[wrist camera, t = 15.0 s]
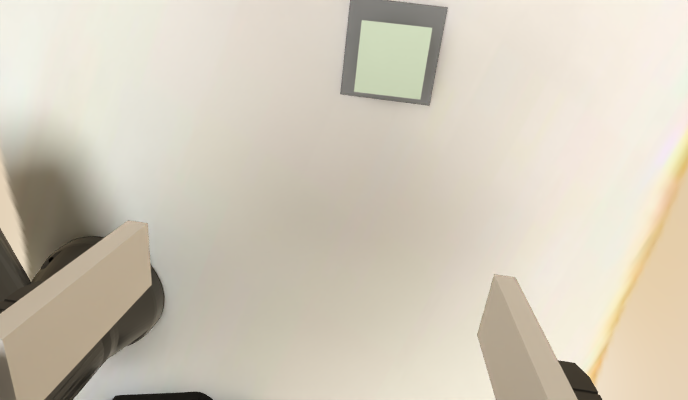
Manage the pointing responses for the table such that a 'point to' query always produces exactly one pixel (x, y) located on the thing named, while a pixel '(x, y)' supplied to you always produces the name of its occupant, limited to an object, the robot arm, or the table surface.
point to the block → (392, 59)
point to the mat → (375, 6)
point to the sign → (165, 396)
